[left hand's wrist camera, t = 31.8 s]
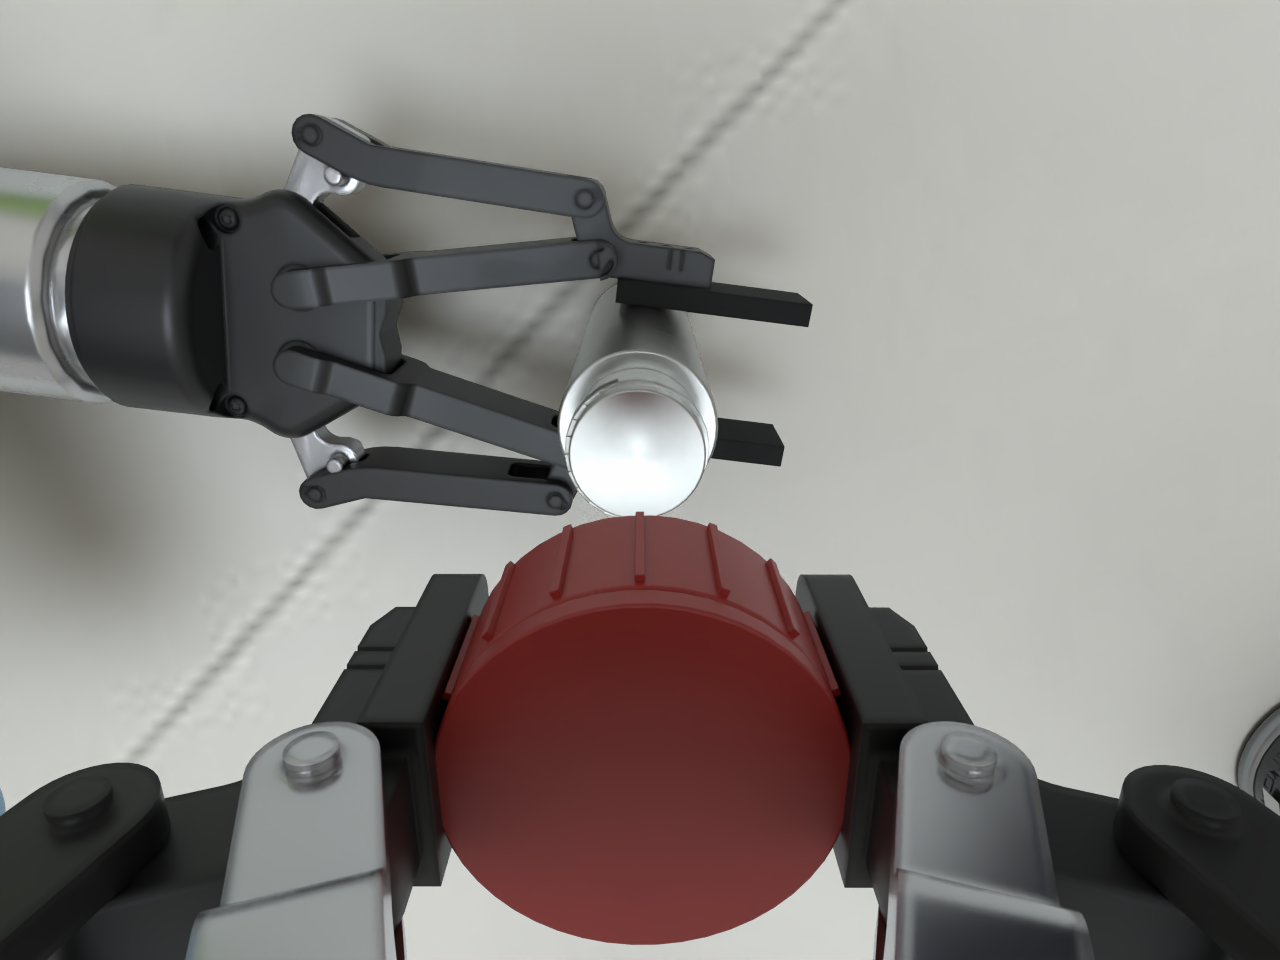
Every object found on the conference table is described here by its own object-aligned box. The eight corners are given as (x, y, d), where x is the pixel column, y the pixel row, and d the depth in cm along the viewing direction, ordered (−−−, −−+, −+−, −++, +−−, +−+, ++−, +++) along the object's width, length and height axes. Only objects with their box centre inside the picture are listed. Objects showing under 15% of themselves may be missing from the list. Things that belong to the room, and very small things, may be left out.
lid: (687, 854, 12) (698, 1002, 10) (408, 710, 12) (352, 839, 9) (886, 624, 11) (948, 739, 9) (585, 441, 10) (570, 516, 8)
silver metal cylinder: (580, 286, 34) (532, 384, 19) (681, 270, 34) (714, 356, 19) (598, 384, 36) (566, 548, 20) (695, 369, 35) (735, 524, 20)
